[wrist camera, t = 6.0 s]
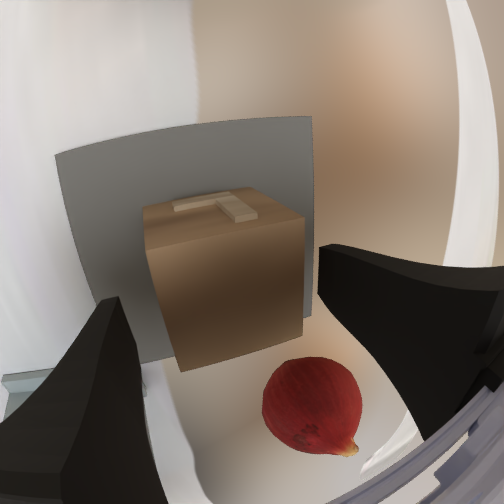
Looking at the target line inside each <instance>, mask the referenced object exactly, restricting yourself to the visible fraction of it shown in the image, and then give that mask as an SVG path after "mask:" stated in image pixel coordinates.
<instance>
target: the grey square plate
mask: <svg viewBox="0 0 504 504" xmlns="http://www.w3.org/2000/svg"><path fill="white" fill-rule="evenodd" d="M312 141H313V138H312V117H311V116H297V117H296V116H295V117H270V118H254V119H240V120H229V121H219V122H210V123H202V124H194V125H187V126H180V127H173V128H167V129H161V130H156V131H150V132H145V133H140V134H135V135H130V136H125V137H121V138H116V139H112V140H108V141H103V142H99V143H95V144H91V145H88V146H84V147H80V148H77V149H73V150H70V151H66V152H63V153H59V154H56V155H55V160H56V165H57V171H58V176H59V181H60V186H61V191H62V195H63V199H64V204H65V208H66V212H67V216H68V220H69V223H70V227H71V231H72V234H73V238H74V241H75V245H76V248H77V251H78V254H79V258H80V261H81V264H82V267H83V270H84V273H85V276H86V278H87V281H88V284H89V287H90V290H91V292H92V295H93V298H94V300H95V303H96V305H98V304H99V302H100V301H101V300H103V299H107V298H112V297H116V296H119V298H120V301H121V304H122V307H123V310H124V313H125V315H126V318H127V321H128V323H129V326H130V329H131V331H132V334H133V336H134V339H135V341H136V344H137V349H138V355H139V361H140V364H143V363H148V362H152V361H157V360H161V359H165V358H169V357H173V356H175V354H174V351H173V348H172V345H171V342H170V339H169V335H168V332H167V329H166V326H165V323H164V319H163V316H162V312H161V309H160V305H159V302H158V298H157V295H156V291H155V287H154V284H153V280H152V276H151V272H150V268H149V264H148V260H147V256H146V252H145V241H144V226H143V206H147V205H152V204H157V203H162V202H167V201H172V200H177V199H182V198H187V197H192V196H198V195H203V194H209V193H214V192H220V191H226V190H232V189H238V188H244V187H252V188H254V189H255V190H257V191H259V192H261V193H263V194H264V195H266V196H268V197H270V198H272V199H273V200H275V201H277V202H279V203H280V204H282V205H284V206H286V207H287V208H289V209H291V210H293V211H294V212H296V213H298V214H300V215H301V216H303V217H305V264H304V306H303V318H306V317H308V316H311V310H312V309H311V308H312V285H313V251H314V250H313V249H314V172H313V142H312Z"/></svg>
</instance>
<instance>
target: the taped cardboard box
mask: <svg viewBox="0 0 504 504" xmlns="http://www.w3.org/2000/svg"><path fill="white" fill-rule="evenodd" d="M143 226H144V241H145V252H146V256H147V260H148V264H149V268H150V272H151V276H152V280H153V284H154V287H155V291H156V295H157V298H158V302H159V305H160V309H161V312H162V316H163V319H164V323H165V326H166V329H167V332H168V335H169V339H170V342H171V345H172V348H173V351H174V354H175V357H176V360H177V363H178V366H179V368H180V371H181V372H184V371H188V370H192V369H196V368H200V367H204V366H208V365H211V364H215V363H218V362H222V361H225V360H229V359H232V358H235V357H239V356H242V355H245V354H249V353H252V352H255V351H259V350H262V349H265V348H268V347H271V346H274V345H277V344H280V343H283V342H286V341H288V340H291V339H295V338H297V337H300V336H302V332H303V306H304V264H305V217H303V216H301V215H300V214H298V213H296V212H294V211H293V210H291V209H289V208H287V207H286V206H284V205H282V204H280V203H279V202H277V201H275V200H273V199H272V198H270V197H268V196H266V195H264V194H263V193H261V192H259V191H257V190H255V189H254V188H252V187H244V188H238V189H232V190H226V191H220V192H214V193H209V194H203V195H198V196H192V197H187V198H182V199H177V200H172V201H167V202H162V203H157V204H152V205H147V206H143Z"/></svg>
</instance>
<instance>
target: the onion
mask: <svg viewBox="0 0 504 504" xmlns="http://www.w3.org/2000/svg"><path fill="white" fill-rule="evenodd" d="M361 413H362V397H361V393H360V390H359V387H358V385H357V382H356V380H355V379H354V377H353V375H352V373H351V372H350V371H349V370H348V369H346V368H345V367H344V366H343V365H341V364H339V363H337V362H335V361H333V360H331V359H327V358H323V357H305V358H299V359H292V360H288V361H285V362H284V363H283V364H282V365H281V366H280V367H279V368H277V369H276V371H275V372H274V373H273V374H272V376H271V378H270V379H269V381H268V383H267V385H266V387H265V389H264V392H263V405H262V415H263V418H264V421H265V424H266V426H267V427H268V428H269V430H270V431H271V432H272V433H273V435H274V436H275V437H277V438H278V439H279V440H281V441H282V442H283V443H285V444H286V445H287V446H289V447H291V448H293V449H295V450H297V451H301V452H305V453H310V454H332V455H342V456H345V457H348V456H353V455H355V454H356V453H357V452H358V450H359V448H358V446H357V445H356V444H355V442H354V439H353V437H354V435H355V433H356V431H357V428H358V425H359V422H360V418H361Z"/></svg>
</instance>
